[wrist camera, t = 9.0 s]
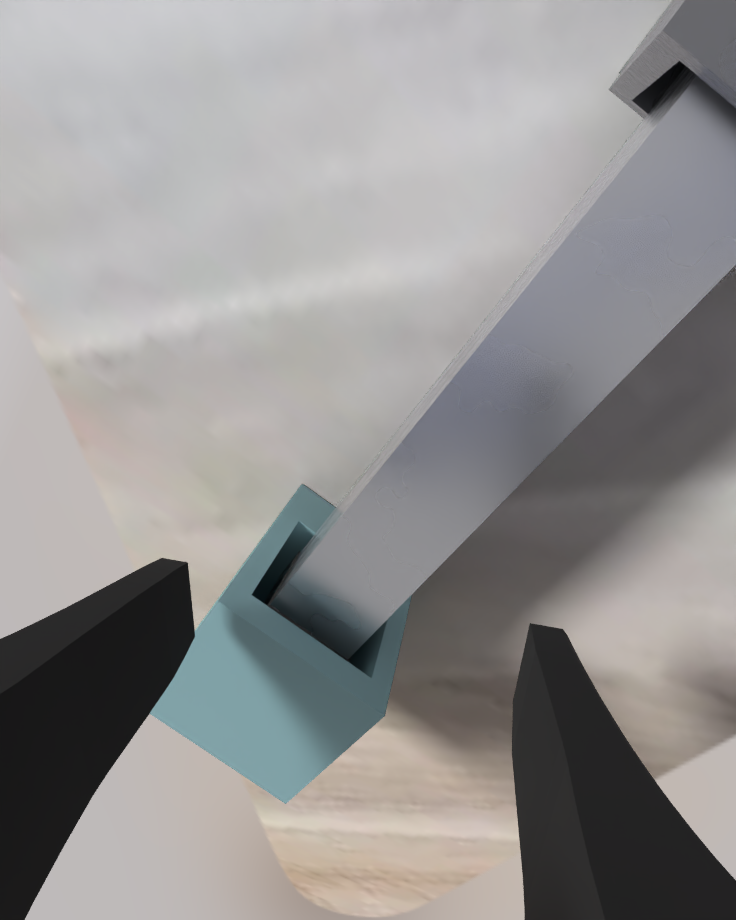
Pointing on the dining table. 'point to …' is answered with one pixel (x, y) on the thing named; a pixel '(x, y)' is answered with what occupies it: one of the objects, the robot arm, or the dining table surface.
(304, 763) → the socket
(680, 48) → the sleeve
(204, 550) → the dining table surface
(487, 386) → the extension bar
